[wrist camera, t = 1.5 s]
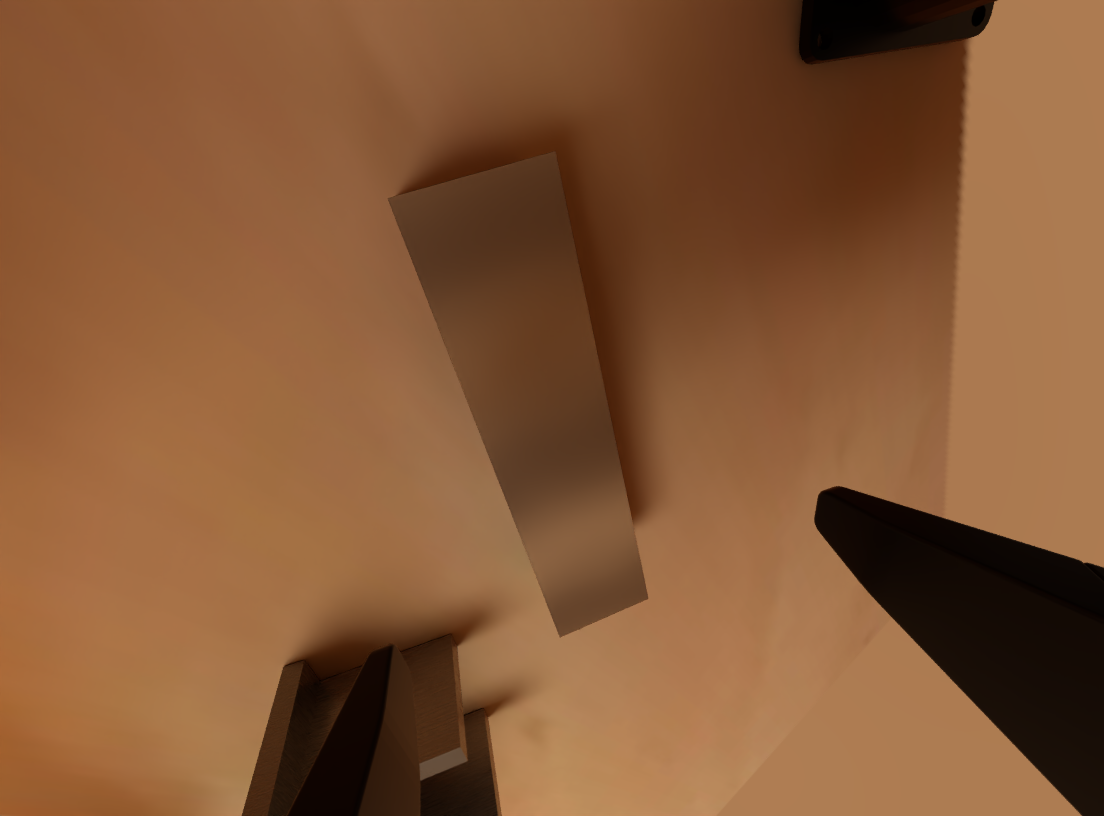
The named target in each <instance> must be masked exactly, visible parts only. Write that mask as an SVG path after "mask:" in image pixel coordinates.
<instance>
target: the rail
mask: <svg viewBox="0 0 1104 816" xmlns="http://www.w3.org/2000/svg"><path fill="white" fill-rule="evenodd" d="M388 201H389V203H390V206H391V208H392V211H393V213H394V216H395V219H396V221H397V224H398V226H399V229H400V231H401V234H402V236H403V239H404V241H405V244H406V247H407V249H408V252H409V254H410V257H411V259H412V262H413V264H414V267H415V269H416V272H417V275H418V277H419V280H420V282H421V285H422V287H423V290H424V292H425V295H426V297H427V300H428V303H429V305H430V308H431V310H432V313H433V315H434V318H435V320H436V323H437V326H438V328H439V331H440V333H441V336H442V338H443V341H444V343H445V346H446V348H447V351H448V354H449V356H450V359H451V361H452V364H453V366H454V369H455V371H456V374H457V376H458V379H459V382H460V384H461V387H462V389H463V392H464V394H465V397H466V399H467V402H468V404H469V407H470V410H471V412H472V415H473V417H474V420H475V422H476V425H477V427H478V430H479V433H480V435H481V438H482V440H483V443H484V445H485V448H486V450H487V453H488V455H489V458H490V461H491V463H492V466H493V468H494V471H495V473H496V476H497V478H498V481H499V483H500V486H501V489H502V491H503V494H504V496H505V499H506V501H507V504H508V506H509V509H510V511H511V514H512V517H513V519H514V522H515V524H516V527H517V529H518V532H519V534H520V537H521V539H522V542H523V545H524V547H525V550H526V552H527V555H528V557H529V560H530V562H531V565H532V568H533V570H534V573H535V575H536V578H537V580H538V583H539V585H540V588H541V590H542V593H543V596H544V598H545V601H546V603H547V606H548V608H549V611H550V613H551V616H552V618H553V621H554V624H555V626H556V629H557V631H558V634H559V636H560V637H562V636H564V635H567V634H569V633H571V632H574V631H576V630H578V629H580V628H583V627H585V626H587V625H589V624H592V623H594V622H596V621H599V620H601V619H603V618H605V617H608V616H610V615H612V614H615V613H617V612H619V611H621V610H624V609H626V608H628V607H630V606H633V605H635V604H637V603H640V602H642V601H644V600H646V599H648V594H647V589H646V585H645V580H644V575H643V570H642V565H641V560H640V556H639V551H638V546H637V541H636V536H635V532H634V527H633V522H632V517H631V512H630V508H629V503H628V498H627V493H626V488H625V484H624V479H623V474H622V469H621V464H620V460H619V455H618V450H617V445H616V440H615V436H614V431H613V426H612V421H611V416H610V411H609V407H608V402H607V397H606V392H605V387H604V383H603V378H602V373H601V368H600V363H599V359H598V354H597V349H596V344H595V339H594V335H593V330H592V325H591V320H590V315H589V311H588V306H587V301H586V296H585V291H584V287H583V282H582V277H581V272H580V267H579V262H578V258H577V253H576V248H575V243H574V238H573V234H572V229H571V224H570V219H569V214H568V210H567V205H566V200H565V195H564V190H563V186H562V181H561V176H560V171H559V166H558V162H557V157H556V152H555V151H554V152H550V153H547V154H543V155H540V156H536V157H533V158H529V159H526V160H522V161H518V162H515V163H511V164H508V165H504V166H501V167H497V168H494V169H490V170H487V171H483V172H479V173H476V174H472V175H469V176H465V177H462V178H458V179H455V180H451V181H447V182H444V183H440V184H437V185H433V186H430V187H426V188H423V189H419V190H416V191H412V192H408V193H405V194H401V195H398V196H394V197H391V198H388Z"/></svg>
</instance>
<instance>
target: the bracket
mask: <svg viewBox="0 0 1104 816" xmlns="http://www.w3.org/2000/svg"><path fill="white" fill-rule="evenodd" d="M400 653H401V654H402V656H403V658H404V660H405V662H406V664H407V665H408V667H409V670H410V673H411V677H412V685H413V696H414V707H415V719H416V730H417V741H418V753H419V765H420V816H502V814H501V807H500V800H499V792H498V785H497V778H496V771H495V764H494V757H493V750H492V743H491V735H490V728H489V721H488V717H487V715H486V713H485V710H484V708H483V709H480V710H478V711H475V712H473V713H470V714H468V715H465V716H463V705H462V694H461V684H460V673H459V662H458V652H457V646H456V644H455V642H454V639H453V637H452V635H451V634H449V635H447V636H444V637H441V638H438V639H436V640H433V641H430V642H427V643H424V644H422V645H419V646H416V647H413V648H411V649H408V650H405V651H402V652H400ZM361 668H362V666H361V667H358V668H355V669H352V670H350V671H347V672H344V673H341V674H338V675H336V676H333V677H330V678H327V679H325V680H322V681H320V680H319V679H318V678H317V676H316V675H315V674H314V672H313V671H312V669H311V668H310V667H309V665H308V664H307V663H306V661H305V660H302V661H299V662H297V663H294V664H291V665H288V666H285V667H283V670H282V674H281V677H280V681H279V684H278V688H277V691H276V695H275V699H274V702H273V706H272V709H271V713H270V716H269V720H268V724H267V727H266V731H265V734H264V738H263V742H262V745H261V749H260V752H259V756H258V759H257V763H256V767H255V770H254V774H253V777H252V781H251V784H250V788H249V792H248V795H247V799H246V802H245V806H244V810H243V813H242V816H287V814H288V812H289V810H290V808H291V806H292V804H293V802H294V800H295V798H296V796H297V794H298V792H299V790H300V788H301V786H302V784H303V782H304V780H305V778H306V776H307V774H308V772H309V770H310V768H311V766H312V764H313V762H314V761H315V759H316V757H317V755H318V753H319V751H320V749H321V747H322V745H323V743H324V741H325V739H326V737H327V735H328V733H329V731H330V729H331V727H332V725H333V723H334V721H335V719H336V717H337V715H338V713H339V711H340V709H341V707H342V705H343V704H344V702H345V700H346V698H347V696H348V694H349V692H350V690H351V688H352V686H353V684H354V682H355V680H356V678H357V676H358V674H359V672H360V670H361Z"/></svg>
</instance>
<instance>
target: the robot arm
mask: <svg viewBox="0 0 1104 816" xmlns="http://www.w3.org/2000/svg"><path fill="white" fill-rule="evenodd" d="M994 1H997V0H803V6H802V18H801V30H800V41H799V51H800V56H801V58H802V60H803V61H804V62H805V63H806V64H817V63H824V62H830V61H836V60H842V59H849V58H855V57H861V56H867V55H874V54H880V53H886V52H892V51H899V50H905V49H911V48H917V47H924V46H930V45H936V44H942V43H949V42H955V41H961V40H964V39H968V38H971V37H974V36H976V35H979V34H980V33H981V32H982V31H983V30H984V29H985V27H986V25H987V24H988V22H989V19H990V16H991V13H992V9H993V5H994ZM819 34H820V35H821V41H822V42H821V46H820V48H819V46H818V41H817V39H818V36H819ZM814 522H815V525H816V527H817V529H818V531H819V532H820V533H821V535H822V536H823V537H824V538H825V540H826V541H827V542H828V543H829V545H830V546H831V547H832V548H833V550H834V551H835V552H836V553H837V555H838V556H839V557H840V558H841V560H842V561H843V562H844V563H845V565H846V566H847V567H848V568H849V569H850V571H851V572H852V573H853V574H854V576H855V577H856V578H857V579H858V581H859V582H860V583H861V584H862V585H863V587H864V588H865V589H866V590H867V591H868V593H869V594H870V595H871V596H872V597H873V598H874V599H875V600H876V601H877V602H878V603H879V604H880V605H881V607H882V608H883V609H884V610H885V611H886V612H887V613H888V614H889V615H890V616H891V617H892V618H893V619H894V620H895V621H896V622H897V623H898V624H899V625H900V626H901V627H902V628H903V629H904V630H905V632H906V633H907V634H908V635H909V636H910V637H911V638H912V639H913V640H914V641H915V642H916V643H917V644H918V645H919V646H920V647H921V648H922V649H923V650H924V651H925V652H926V653H927V655H928V656H930V658H931V659H932V660H933V661H934V662H935V663H936V664H937V665H938V666H939V667H940V668H941V669H942V670H943V671H944V672H945V673H946V674H947V675H948V676H949V677H950V679H951V680H952V681H953V682H954V683H955V684H956V685H957V686H958V687H959V688H960V689H961V690H962V691H963V692H964V693H965V694H966V695H967V696H968V697H969V698H970V699H971V700H972V701H973V702H974V703H975V705H976V706H977V707H978V708H979V709H980V710H981V711H982V712H983V713H984V714H985V715H986V716H987V717H988V718H989V719H990V720H991V721H992V722H993V723H994V724H995V725H996V727H997V728H998V729H999V730H1000V731H1001V732H1002V733H1003V734H1004V735H1005V736H1006V737H1007V738H1008V739H1009V740H1010V741H1011V742H1012V743H1013V744H1014V745H1015V746H1016V747H1017V748H1018V749H1019V751H1020V752H1022V754H1023V755H1024V756H1025V757H1026V758H1027V759H1028V760H1029V761H1030V762H1031V763H1032V764H1033V765H1034V766H1035V767H1036V768H1037V769H1038V770H1039V771H1040V772H1041V773H1042V775H1043V776H1045V778H1046V779H1047V780H1048V781H1049V782H1050V783H1051V784H1052V785H1053V786H1054V787H1055V788H1056V789H1057V790H1058V791H1059V792H1060V793H1061V794H1062V795H1063V796H1064V797H1065V799H1066V800H1067V801H1068V802H1069V803H1070V804H1071V805H1072V806H1073V807H1074V808H1075V809H1076V810H1077V811H1078V812H1079V813H1080V814H1081V815H1082V816H1104V568H1103V567H1100V566H1097V565H1094V564H1091V563H1083V562H1082V561H1080V560H1077V559H1074V558H1071V557H1068V556H1064V555H1061V554H1058V553H1054V552H1051V551H1048V550H1045V549H1042V548H1038V547H1035V546H1032V545H1029V544H1025V543H1022V542H1019V541H1016V540H1012V539H1009V538H1006V537H1003V536H1000V535H997V534H993V533H990V532H987V531H984V530H980V529H977V528H974V527H971V526H968V525H964V524H961V523H958V522H954V521H951V520H948V519H945V518H942V517H938V516H935V515H932V514H929V513H926V512H922V511H919V510H916V509H913V508H909V507H906V506H903V505H900V504H897V503H893V502H890V501H887V500H884V499H880V498H877V497H874V496H871V495H867V494H864V493H861V492H858V491H855V490H851V489H848V488H845V487H841V486H835V487H832V488H829V489H826V490H823V491H821V492H820V493H819V495H818V499H817V505H816V511H815V517H814ZM287 816H420V765H419V753H418V741H417V730H416V719H415V707H414V696H413V685H412V677H411V673H410V670H409V667H408V665H407V664H406V662H405V660H404V658H403V656H402V654H401V653H400V651H399V649H398V647H397V646H396V645H395V644H393V643H391V644H388V645H385V646H382V647H379V648H376V649H374V650H372V651H371V652H370V653H369V655H368V656H367V658H366V660H365V662H364V664H363V666H362V668H361V670H360V672H359V674H358V676H357V678H356V680H355V682H354V684H353V686H352V688H351V690H350V692H349V694H348V696H347V698H346V700H345V702H344V704H343V705H342V707H341V709H340V711H339V713H338V715H337V717H336V719H335V721H334V723H333V725H332V727H331V729H330V731H329V733H328V735H327V737H326V739H325V741H324V743H323V745H322V747H321V749H320V751H319V753H318V755H317V757H316V759H315V761H314V762H313V764H312V766H311V768H310V770H309V772H308V774H307V776H306V778H305V780H304V782H303V784H302V786H301V788H300V790H299V792H298V794H297V796H296V798H295V800H294V802H293V804H292V806H291V808H290V810H289V812H288V814H287Z"/></svg>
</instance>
